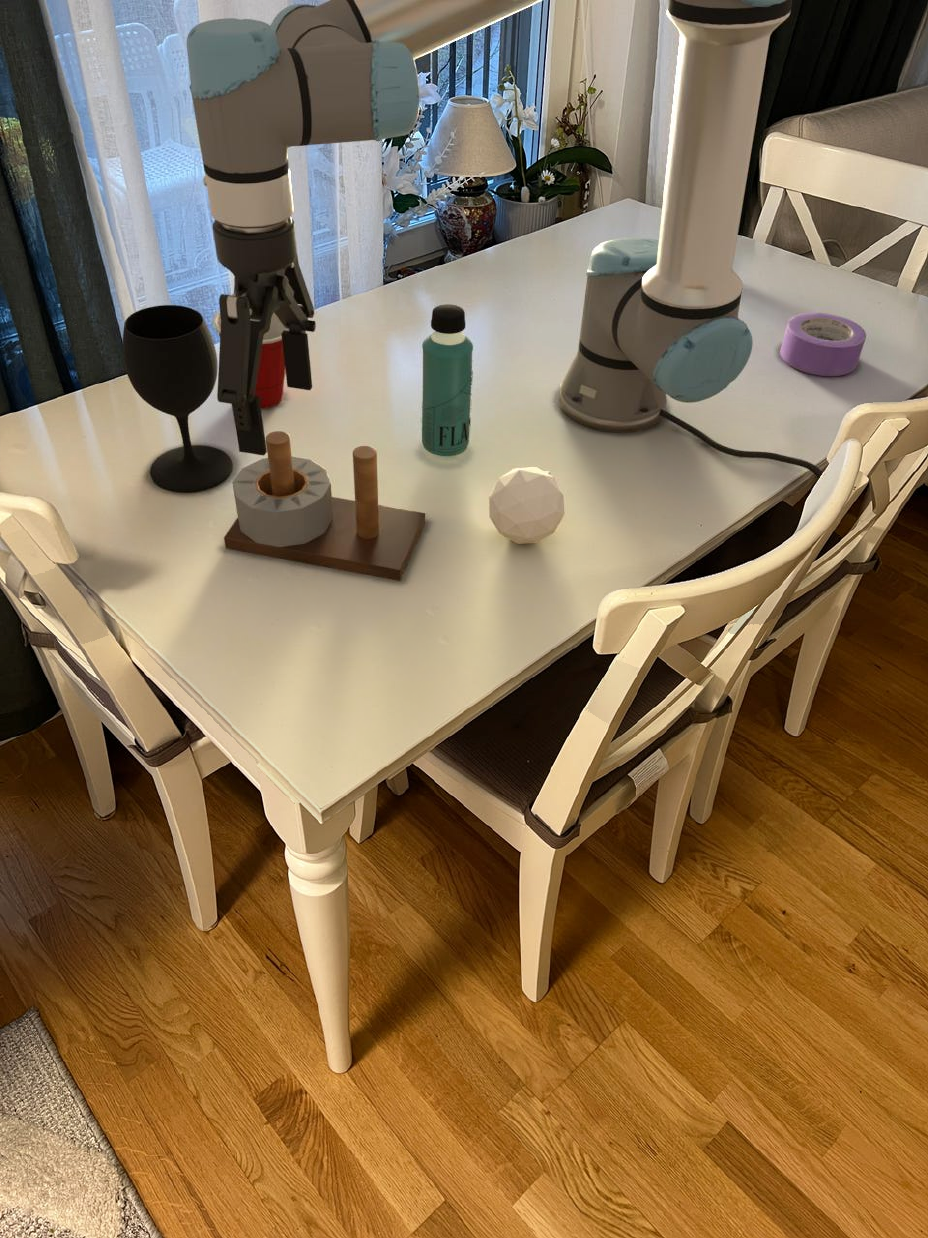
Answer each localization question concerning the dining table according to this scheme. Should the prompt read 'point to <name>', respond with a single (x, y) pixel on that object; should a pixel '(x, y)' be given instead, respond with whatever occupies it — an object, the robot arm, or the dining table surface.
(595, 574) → the dining table surface
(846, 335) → the tape roll
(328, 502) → the duct tape
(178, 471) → the wine glass
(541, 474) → the white faceted ball
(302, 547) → the peg rack
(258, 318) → the robot arm
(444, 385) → the beverage bottle
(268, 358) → the plastic cup
